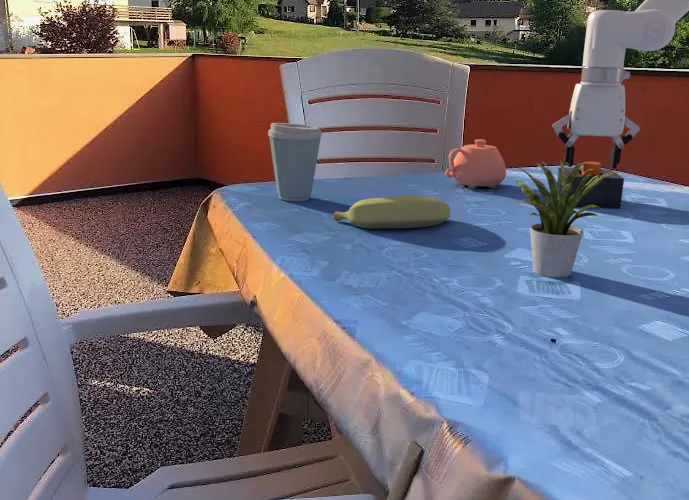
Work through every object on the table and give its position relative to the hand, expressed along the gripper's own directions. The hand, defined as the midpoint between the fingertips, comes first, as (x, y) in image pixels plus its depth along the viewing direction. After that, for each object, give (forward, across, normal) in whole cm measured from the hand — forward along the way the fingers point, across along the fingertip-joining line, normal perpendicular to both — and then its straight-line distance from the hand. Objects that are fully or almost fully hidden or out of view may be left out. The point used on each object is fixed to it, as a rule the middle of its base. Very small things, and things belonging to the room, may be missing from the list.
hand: (591, 166), depth 143 cm
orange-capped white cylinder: (+7, 0, 0) cm, 7 cm away
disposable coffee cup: (+8, +59, +8) cm, 60 cm away
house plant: (+8, +14, +48) cm, 51 cm away
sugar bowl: (+8, +22, -13) cm, 27 cm away
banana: (+8, +39, +25) cm, 47 cm away
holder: (+7, 0, 0) cm, 7 cm away
